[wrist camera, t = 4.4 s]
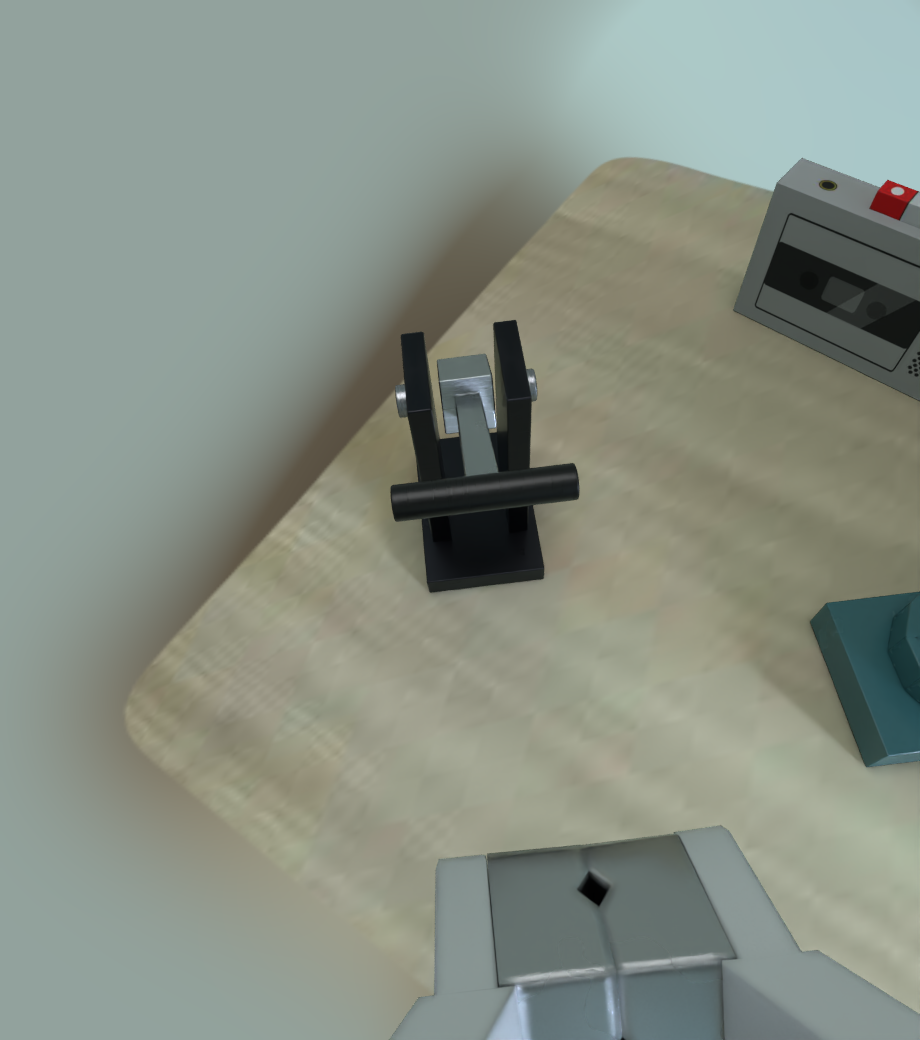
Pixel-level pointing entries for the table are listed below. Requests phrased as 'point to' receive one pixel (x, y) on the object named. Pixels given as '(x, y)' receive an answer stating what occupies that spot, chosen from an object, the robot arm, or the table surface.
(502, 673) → the table surface
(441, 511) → the lever
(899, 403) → the table surface
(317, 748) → the table surface
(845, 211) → the cassette player
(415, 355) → the bracket
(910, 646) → the button block
